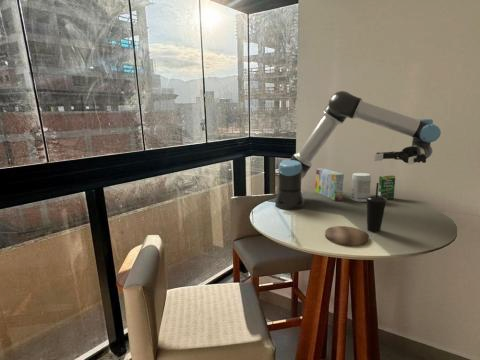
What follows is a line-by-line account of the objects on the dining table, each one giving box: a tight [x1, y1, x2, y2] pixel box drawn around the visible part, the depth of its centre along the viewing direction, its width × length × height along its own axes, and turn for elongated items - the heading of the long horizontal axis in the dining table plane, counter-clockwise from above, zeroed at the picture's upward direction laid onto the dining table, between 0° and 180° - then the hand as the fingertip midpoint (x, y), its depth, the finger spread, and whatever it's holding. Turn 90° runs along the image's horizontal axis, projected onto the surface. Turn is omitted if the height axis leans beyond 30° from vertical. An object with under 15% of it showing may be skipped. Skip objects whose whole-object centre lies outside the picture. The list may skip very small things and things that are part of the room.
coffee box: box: [378, 174, 396, 200], centre depth 164 cm, size 8×3×13 cm, turn 92°
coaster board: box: [324, 225, 370, 247], centre depth 114 cm, size 16×16×2 cm
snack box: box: [314, 167, 345, 202], centre depth 172 cm, size 21×6×15 cm, turn 17°
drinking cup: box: [366, 182, 388, 233], centre depth 119 cm, size 8×8×20 cm
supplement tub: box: [350, 172, 372, 203], centre depth 162 cm, size 10×10×15 cm
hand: (391, 159), depth 121 cm, fingers open, 13 cm apart
